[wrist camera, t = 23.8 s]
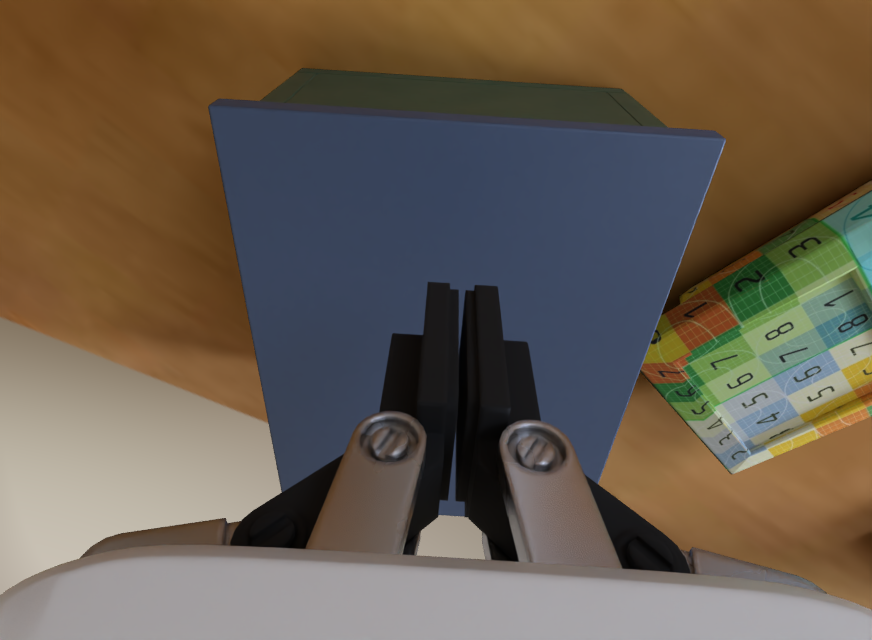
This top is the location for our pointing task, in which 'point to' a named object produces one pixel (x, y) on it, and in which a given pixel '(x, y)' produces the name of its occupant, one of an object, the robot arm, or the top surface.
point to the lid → (450, 254)
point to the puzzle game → (775, 340)
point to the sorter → (462, 97)
